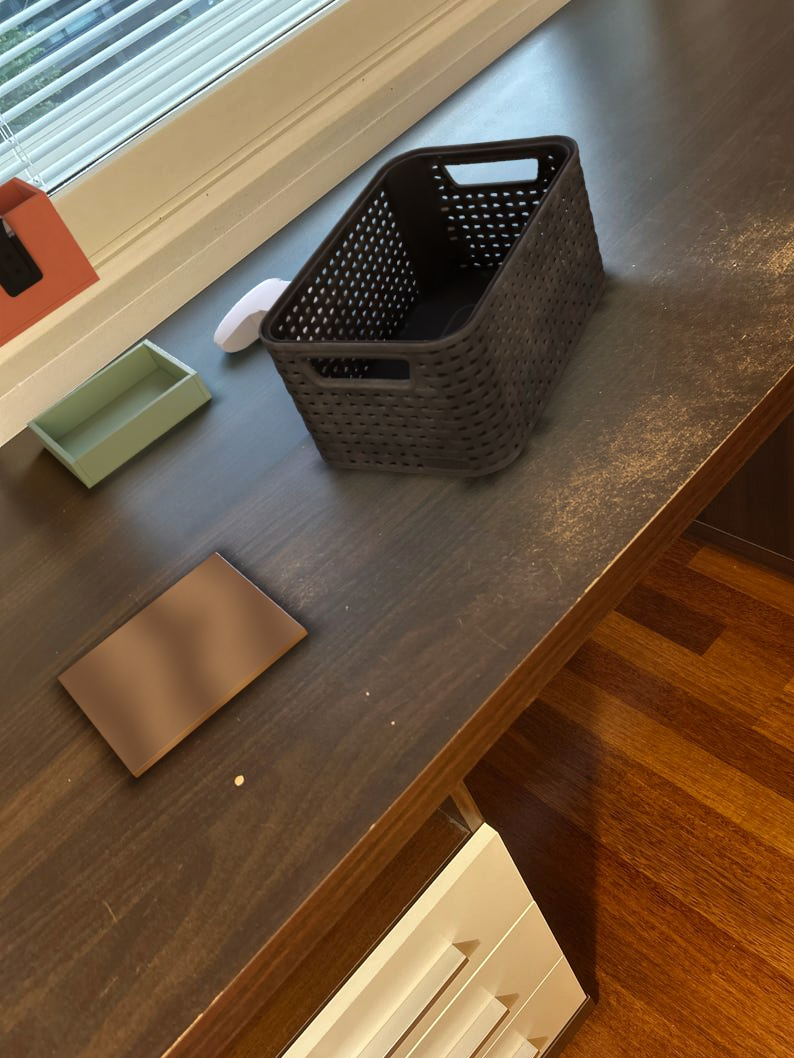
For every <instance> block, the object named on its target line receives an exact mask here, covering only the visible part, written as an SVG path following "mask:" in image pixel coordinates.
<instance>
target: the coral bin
mask: <svg viewBox="0 0 794 1058" xmlns="http://www.w3.org/2000/svg"><path fill="white" fill-rule="evenodd" d="M0 215H1V216H2V218H3V219H4V220H5V221H6V223H7V224H8V225H9V227H10V228H11V229H12V231H13V232H15V234H16V235H17V236H18V238H19V239H20V241H21V242H22V244H23V245H24V247H25V248H26V250H27V251H28V253H29V254H30V256H31V257H32V259H33V260H34V262H35V263H36V265H37V266H38V267H39V269H40V270H41V272H42V274H43V278H42V280H40V281H39V282H37V283H36V284H34V285H33V286H31V287H30V288H28V289H27V290H25V291H24V292H22V293H21V294H19V295H18V296H16V297H11V296H9V295H8V294H7V293H6V292H5V290H4V289H3V288H2V286H1V285H0V348H2V347H4V346H5V345H7V344H8V343H10V342H11V341H13V340H14V339H16V338H18V336H20V335H21V334H23V333H24V332H25V331H28V330H29V329H30V328H32V327H33V326H35V325H37V323H39V322H40V321H42V320H44V319H45V318H46V317H48V316H49V315H50V314H52V313H54V311H56V310H58V309H59V308H61V307H62V306H64V305H65V304H66V303H68V302H70V301H72V300H73V299H75V297H77V296H79V295H80V294H81V293H83V292H84V291H86V290H87V289H89V288H91V286H94V285H95V284H96V283H97V282H99V281H100V280H101V278H100V277H99V275H98V274H97V272H96V270H95V269H94V267H93V265H92V264H91V262H90V261H89V259H88V257H87V256H86V254H85V253H84V251H83V250H82V248H81V246H80V245H79V243H78V242H77V240H76V239H75V237H74V235H73V234H72V232H71V230H70V229H69V228H68V226H67V224H66V223H65V221H64V220H63V218H62V217H61V215H60V213H59V212H58V210H57V209H56V207H55V205H54V204H53V202H52V201H51V198H50V197H49V196H48V194H47V193H46V191H44V190H43V189H41V188H39V187H37V186H35V185H33V184H31V183H29V182H27V181H25V180H23V179H21V178H19V177H17V176H13V177H11V178H10V179H8V180H7V181H5V182H4V183H2V184H1V185H0Z"/></svg>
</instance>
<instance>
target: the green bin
mask: <svg viewBox="0 0 794 1058" xmlns="http://www.w3.org/2000/svg"><path fill="white" fill-rule="evenodd" d="M212 398H213V395H212V394H211V393H210V391H209V389H208V387H206V385H205V383H204V381H203V379H202V378H201V376H200V374H199V373H198V372H197V371H196V370H194V369H193V368H191V367H190V366H188V365H186V364H185V363H183V362H182V361H181V360H179V359H177V358H176V357H174V356H173V355H171V354H169V353H168V352H167V351H165V350H163V349H162V348H161V347H159V346H157V345H156V344H155V343H153V342H152V341H150V340H148V339H147V338H145V339H144V340H143V341H141V342H140V343H138V344H137V345H135V346H134V347H133V348H131V349H130V350H129V351H127V352H126V353H125V354H123V355H121V356H119V358H117V359H115V361H113V362H112V363H110V364H109V365H107V366H106V367H105V368H103V369H102V370H100V371H99V372H98V373H96V374H95V375H93V376H92V377H90V378H89V379H88V380H86V381H85V382H84V383H82V384H81V385H79V386H77V387H76V388H75V389H73V390H72V391H71V392H69V393H68V394H66V395H64V396H63V397H62V398H61V399H59V400H58V401H57V402H55V403H53V404H52V405H50V406H49V407H48V408H47V409H45V410H44V411H42V412H41V413H39V414H38V415H37V416H35V417H34V418H33V419H32V420H30V421H28V422H27V423H26V426H27V427H28V428H29V429H30V430H31V432H32V433H33V434H34V436H35V437H36V438H37V440H38V441H40V444H41V445H42V446H43V447H44V448H45V449H46V450H47V451H49V453H51V454H52V455H53V456H54V457H55V458H56V459H57V460H58V461H59V462H60V463H61V464H62V465H64V466H65V468H67V469H68V470H69V471H70V472H71V473H72V474H73V475H74V476H75V477H76V478H77V479H78V480H79V481H80V482H82V483H83V484H84V485H85V486H86V487H87V488H88V489H92V487H94V486H95V485H96V484H98V483H99V482H100V481H101V480H103V479H104V478H106V477H107V476H108V475H110V474H111V473H112V472H114V471H115V470H117V469H118V468H119V467H121V466H122V465H124V463H126V462H127V461H128V460H130V459H132V458H133V457H134V456H135V455H137V454H138V453H139V452H142V450H143V449H145V448H146V447H148V446H149V445H150V444H152V443H153V442H154V441H155V440H158V438H160V437H161V436H162V435H164V434H165V433H166V432H168V431H169V430H171V429H172V428H173V427H174V426H176V425H177V424H178V423H180V422H181V421H182V420H184V419H186V417H188V416H189V415H191V414H192V413H193V412H194V411H196V410H197V409H199V408H200V407H201V406H203V405H204V404H205V403H207V402H208V401H209V400H211V399H212Z"/></svg>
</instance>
